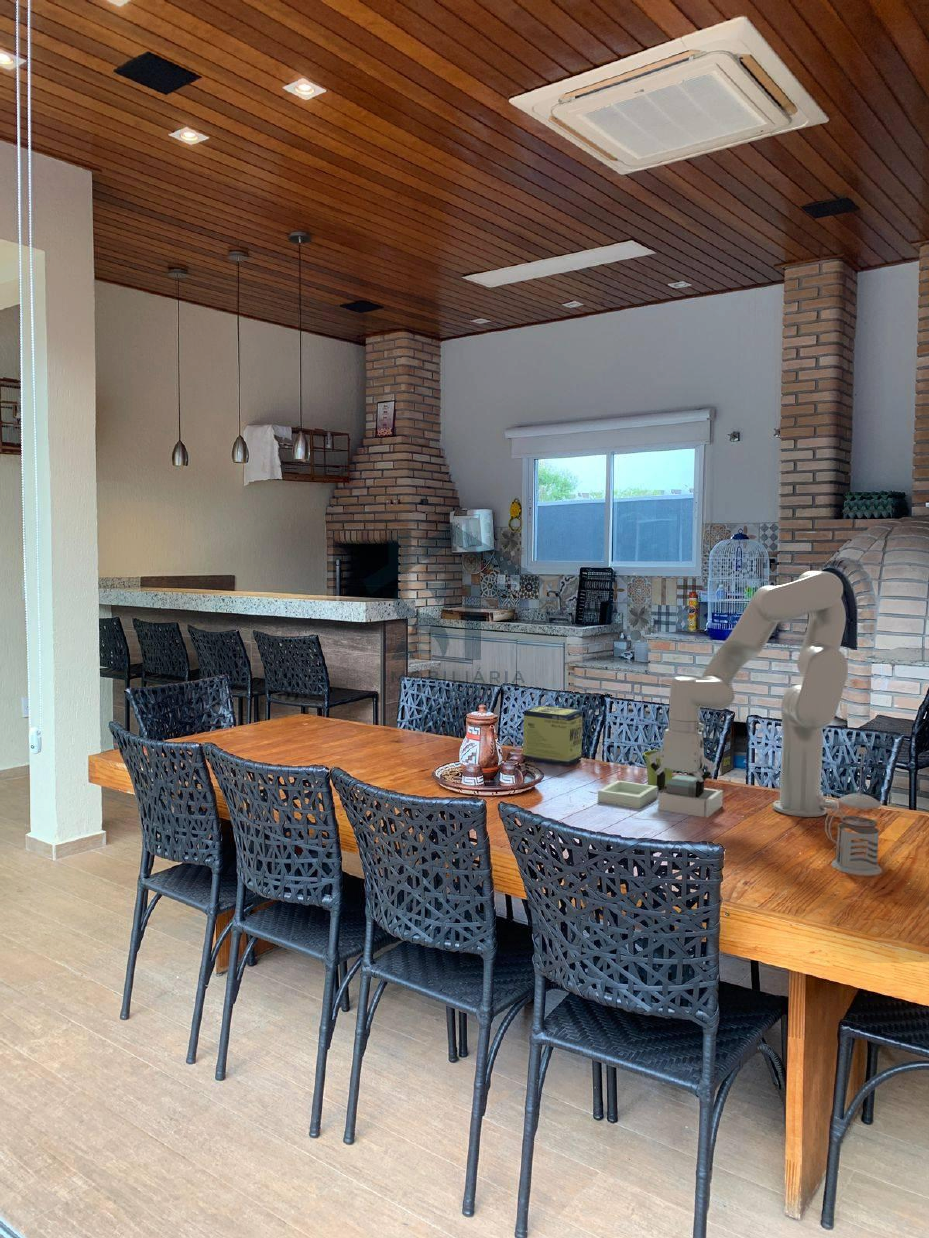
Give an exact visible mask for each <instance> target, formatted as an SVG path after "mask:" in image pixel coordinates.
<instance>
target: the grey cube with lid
mask: <svg viewBox="0 0 929 1238" xmlns="http://www.w3.org/2000/svg"><path fill="white" fill-rule="evenodd" d="M697 781H698V779H697V777H694V776H685V775H679V774H676V775H674V776H672V779H670V780H668V781H667V786H666V791H665V792H666V794H673V795H679V796H686V797H692V798H697V797H696V796H695V792H696V782H697Z"/></svg>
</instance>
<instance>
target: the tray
mask: <svg viewBox="0 0 929 1238" xmlns="http://www.w3.org/2000/svg"><path fill="white" fill-rule="evenodd" d="M657 797H658V787H657V786H653V785H649V784H644V783H637V782H631V781H625V780H617V779H616V780H614V782H611V783H610V784H608V785H606V786H604V787H602V788H600V789H598V790H597V802H598V801H599V803H604V802H605V803H604V804H610V805H616V804H620V805H619V806H623V805H625V806H624V807H629V808H636V809H640V808H642V807H644V806H645V805H647V804H648V803H650V802H651V801H652V800H654V799H656V798H657Z"/></svg>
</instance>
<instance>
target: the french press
mask: <svg viewBox="0 0 929 1238" xmlns="http://www.w3.org/2000/svg"><path fill="white" fill-rule="evenodd" d="M856 753H857V754H858V755H859V754H860V772H859V773H860V775H859V792H857V793H849V794H846V795H844V796H841V797H839V798H838V799H837V802H839V804H840V805H843V806H844V807H849V808H854V809H858V813H857V814H858V815H844V814H845V812H844V810H843V809H840V807H839V808H835V809H838V810H835V809H831V810H830V811H829V813H828V814H827V816H826V818H825V821H824V831H825V833H826V836H827V838H829V840H831V841H832V842H834V843H835V844H836V854H835V855H836V858H835V859H834V860H833V861H832V862H831V863H830V866H832V868H834V869H836V870H837V871H838V872H843V873H846V874H851V875H855V876H856V875H857V876H866V877H867V876H869V877H870V876H877V875H880V874H882V872H883V869H882V868H881V867H880V866H879V865H878V852H879V851H878V850H879V829H878V828H877V826H878V825H879V823H878V822H877V821H876V820H874V819H872V818H869V817H865V816H863V817H862V816H860V809H863V810H864V809H865V810H867V809H868V810H871V809H873V810H874V809H878V808H880V807H881V806H882V803H881V802H880V801H879V800H877V799H876V798H874V797H872V796H871V795H868V794H864V793H861V789H862V787H861V785H862V768H863V767H862V766H863V755H867V754H868V750H867V748H865V747H858V748H857V749H856ZM834 811H836V812H834ZM833 812H834V814H833V815H832V816H831V818H830V821H829V824H828V827H827V822H828V819H829V817H830V815H831V814H832V813H833ZM841 812H842V814H841ZM837 813H838V815H839V816H840V819H839V821H840V822H841V823H840V824H838V825H837V840H834V838H833V836H832V832H831V823H832V821H833V818H834V817H835V816H836V815H837ZM827 828H828V830H827ZM844 829H849V830H851V831H853V832H851V831H848V830H844ZM840 831H841V832H840ZM856 840H860V841H859V842H858V841H856ZM867 842H868V843H867ZM857 846H859V847H857ZM860 847H862V848H860ZM859 853H862V854H859Z"/></svg>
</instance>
